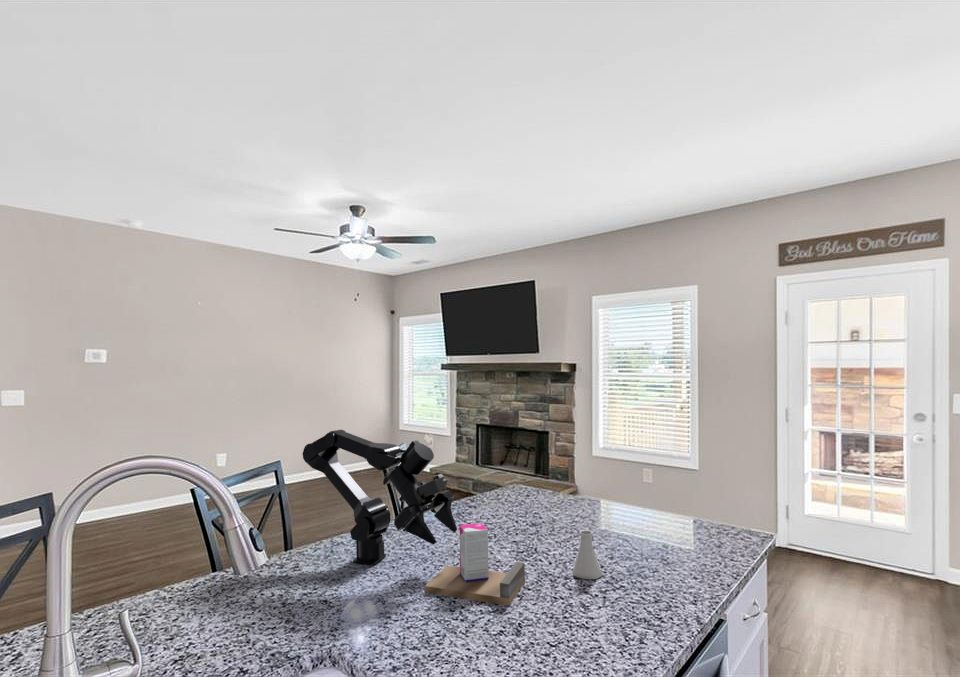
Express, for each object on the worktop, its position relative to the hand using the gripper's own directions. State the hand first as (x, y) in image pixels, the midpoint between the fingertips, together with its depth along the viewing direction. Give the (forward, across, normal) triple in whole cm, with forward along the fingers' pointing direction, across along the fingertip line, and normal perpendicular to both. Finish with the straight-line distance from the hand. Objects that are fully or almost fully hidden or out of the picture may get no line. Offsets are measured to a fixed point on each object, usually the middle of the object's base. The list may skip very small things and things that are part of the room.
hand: (445, 537), depth 125 cm
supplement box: (+11, 0, 0) cm, 11 cm away
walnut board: (+13, -2, 0) cm, 13 cm away
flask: (+28, +16, -14) cm, 35 cm away
